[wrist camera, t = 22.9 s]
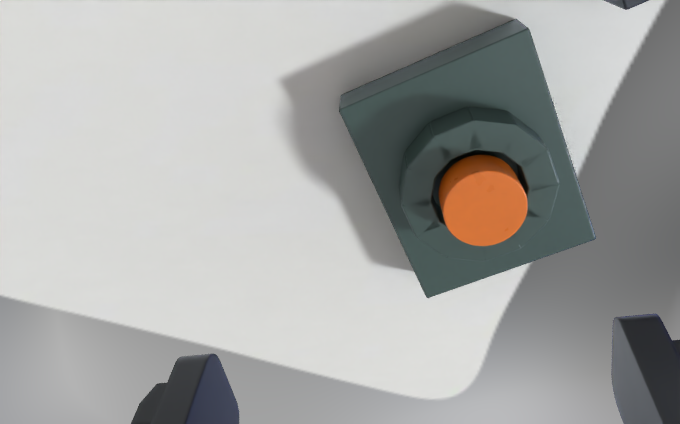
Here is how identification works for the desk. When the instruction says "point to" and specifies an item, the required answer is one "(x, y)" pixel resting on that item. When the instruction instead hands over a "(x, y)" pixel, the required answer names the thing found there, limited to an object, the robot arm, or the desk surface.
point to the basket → (626, 3)
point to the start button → (482, 200)
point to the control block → (468, 153)
